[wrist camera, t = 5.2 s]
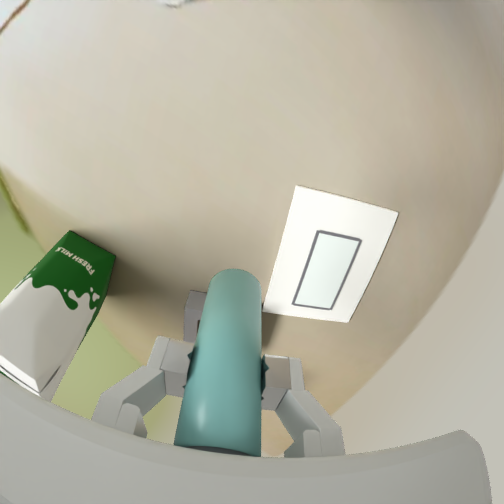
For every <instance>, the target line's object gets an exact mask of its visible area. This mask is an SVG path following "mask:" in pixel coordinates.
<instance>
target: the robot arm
mask: <svg viewBox="0 0 504 504" xmlns="http://www.w3.org/2000/svg"><path fill="white" fill-rule="evenodd" d="M194 347H195V344H194V343H189V342H185V341H180V340H176V339H172V338H168V337H164V336H158V337H157V338H156V341H155V344H154V346H153V349H152V352H151V355H150V357H149V360H148V363H147V366H144V365H143V366H141V367H140V368H138V369H137V370H136V371H134V372H133V373H131V374H130V375H128V376H127V377H126V378H124V379H122V380H121V381H119V382H118V383H116V384H115V385H114V386H112V387H110V388H109V389H108V390H106V391H105V392H103V393H102V394H101V396H100V398H99V401H98V404H97V406H96V408H95V411H94V414H93V416H92V419H91V420H89V419H87V418H84V417H82V416H79V415H77V414H75V413H73V412H70V411H68V410H66V409H64V408H62V407H59V406H57V405H55V404H53V403H51V402H49V401H47V400H45V399H43V398H42V397H40V396H38V395H36V394H34V393H32V392H30V391H29V390H27V389H25V388H23V387H22V386H20V385H18V384H17V383H15V382H13V381H12V380H10V379H9V378H7V377H6V376H4V375H2V374H1V373H0V504H492V497H491V488H490V482H489V476H488V471H487V466H486V462H485V458H484V454H483V451H482V448H481V446H480V444H479V443H478V442H477V441H476V440H475V439H474V438H472V437H471V436H470V435H469V434H468V433H467V432H465V431H463V430H458V431H454V432H452V433H448V434H445V435H442V436H439V437H435V438H432V439H428V440H425V441H421V442H417V443H413V444H409V445H405V446H400V447H395V448H390V449H384V450H378V451H372V452H365V453H358V454H349V455H345V449H344V442H343V436H342V430H341V428H340V426H339V425H338V424H337V423H336V422H335V421H334V420H333V419H332V417H331V416H330V415H329V414H328V413H327V412H326V411H325V409H324V408H323V407H322V406H321V405H320V404H319V403H318V401H317V400H316V399H315V398H314V397H313V396H312V394H311V393H310V392H309V391H306V390H305V386H304V378H303V371H302V363H301V359H300V358H292V357H284V356H274V355H265V354H264V355H263V357H262V364H261V409H264V410H273V411H275V412H276V414H277V415H278V417H279V418H280V420H281V422H282V423H283V425H284V426H285V428H286V429H287V431H288V433H289V434H290V436H291V437H292V439H293V440H294V443H293V444H292V445H291V446H290V447H289V448H288V449H287V450H286V451H285V452H284V458H278V457H255V456H242V455H232V454H223V453H216V452H209V451H202V450H196V449H191V448H185V447H180V446H176V445H171V444H167V443H162V442H158V441H154V440H150V439H146V437H147V430H146V427H145V424H144V421H143V418H142V417H143V416H144V415H145V414H146V413H147V412H148V411H150V410H151V409H152V408H153V407H154V406H155V405H156V404H157V403H158V402H159V401H161V400H162V399H163V398H164V397H165V396H166V394H167V395H172V396H177V397H183V395H184V391H185V386H186V383H187V379H188V375H189V370H190V363H191V361H192V357H193V352H194Z"/></svg>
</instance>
